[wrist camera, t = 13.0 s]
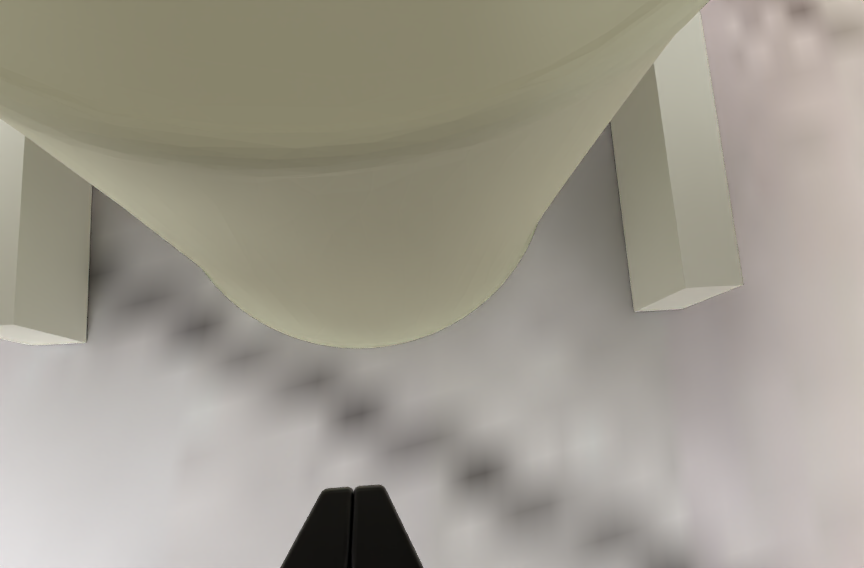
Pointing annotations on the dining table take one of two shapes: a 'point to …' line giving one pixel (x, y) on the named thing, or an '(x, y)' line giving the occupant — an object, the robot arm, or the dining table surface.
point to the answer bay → (636, 173)
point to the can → (332, 137)
